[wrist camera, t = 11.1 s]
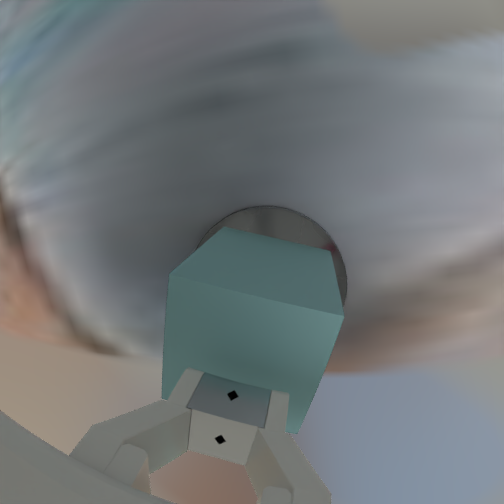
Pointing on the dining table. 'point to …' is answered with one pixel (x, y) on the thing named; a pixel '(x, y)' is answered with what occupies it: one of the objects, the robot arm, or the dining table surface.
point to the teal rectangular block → (254, 316)
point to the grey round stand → (285, 233)
